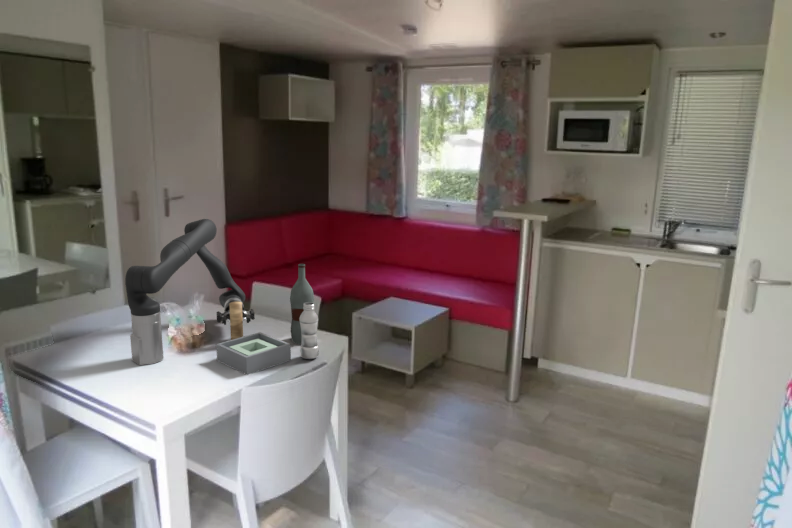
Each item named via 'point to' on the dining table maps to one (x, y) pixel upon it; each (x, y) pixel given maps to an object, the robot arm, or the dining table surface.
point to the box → (256, 360)
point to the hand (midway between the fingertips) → (236, 321)
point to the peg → (236, 320)
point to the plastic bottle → (309, 332)
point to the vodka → (299, 302)
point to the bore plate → (252, 347)
